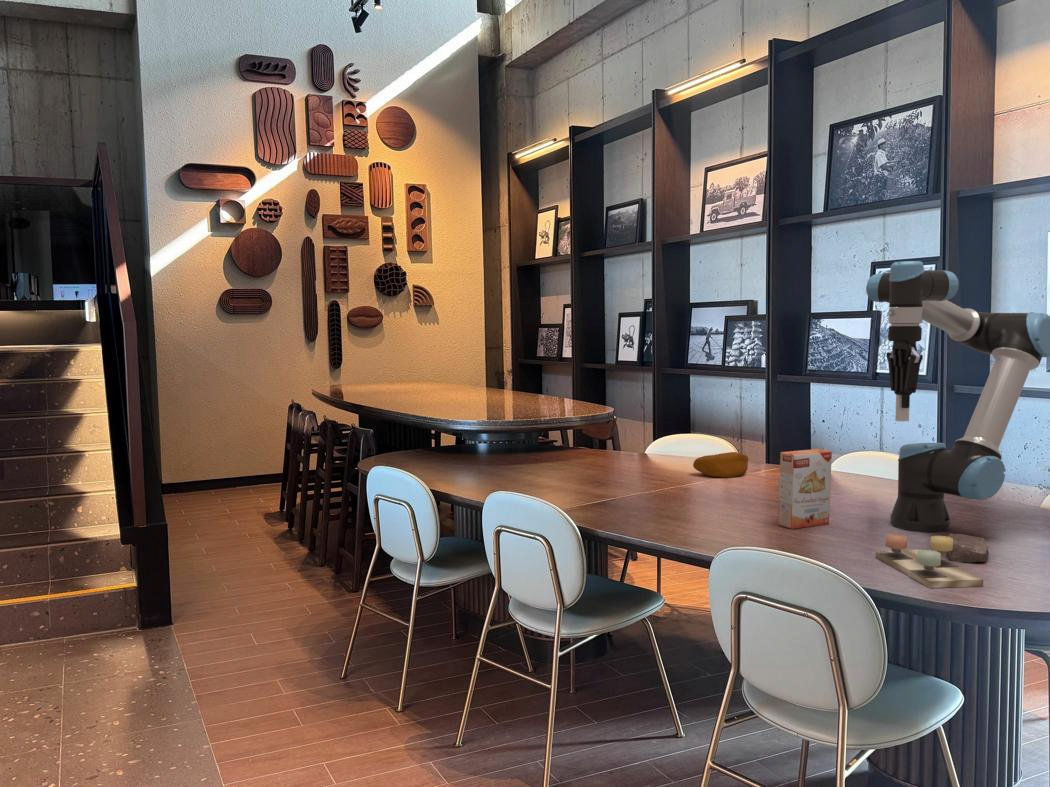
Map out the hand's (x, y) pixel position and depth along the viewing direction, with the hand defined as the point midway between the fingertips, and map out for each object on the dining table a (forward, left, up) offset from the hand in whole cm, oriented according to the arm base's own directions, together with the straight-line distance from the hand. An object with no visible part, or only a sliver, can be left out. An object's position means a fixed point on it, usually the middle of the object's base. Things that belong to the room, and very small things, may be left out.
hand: (902, 420), depth 213 cm
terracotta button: (+7, +11, -30) cm, 32 cm away
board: (+3, +18, -32) cm, 37 cm away
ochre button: (0, +18, -29) cm, 34 cm away
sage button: (+7, +25, -30) cm, 39 cm away
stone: (-13, +8, -33) cm, 36 cm away
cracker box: (+13, -27, -33) cm, 44 cm away
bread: (+13, -103, -33) cm, 109 cm away
